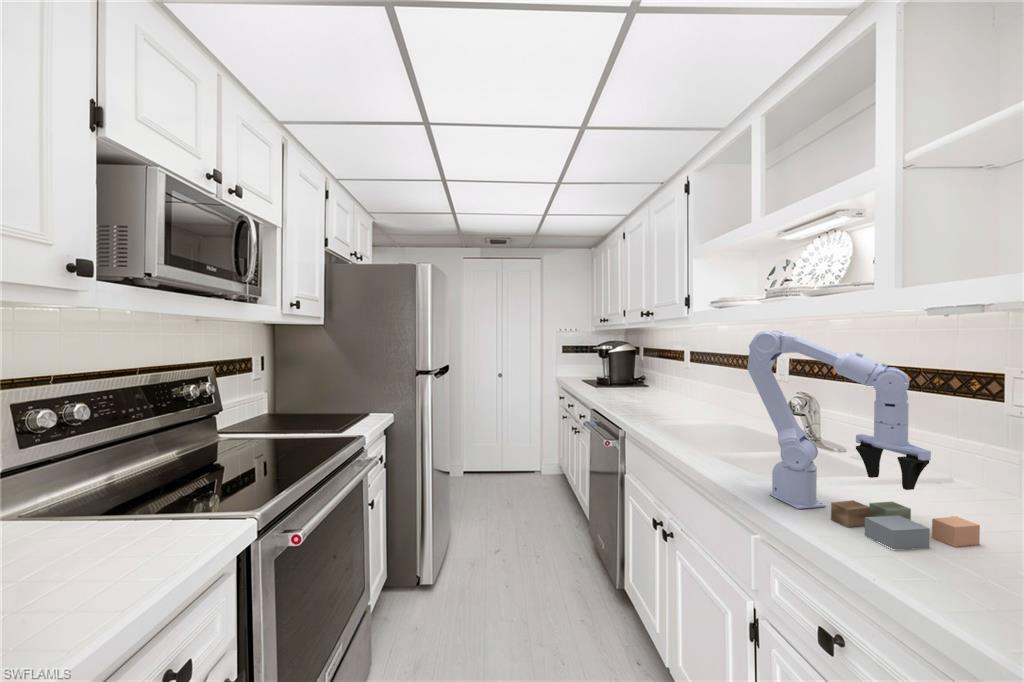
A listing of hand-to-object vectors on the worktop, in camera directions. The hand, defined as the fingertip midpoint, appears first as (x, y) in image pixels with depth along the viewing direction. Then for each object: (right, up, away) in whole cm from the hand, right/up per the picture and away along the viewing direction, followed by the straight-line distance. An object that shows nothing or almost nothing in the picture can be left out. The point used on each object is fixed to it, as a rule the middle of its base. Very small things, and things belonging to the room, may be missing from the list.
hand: (890, 482), depth 95 cm
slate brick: (-6, -10, -8) cm, 14 cm away
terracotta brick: (+6, -9, -8) cm, 14 cm away
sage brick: (0, -9, 0) cm, 9 cm away
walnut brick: (-8, -9, +1) cm, 12 cm away
